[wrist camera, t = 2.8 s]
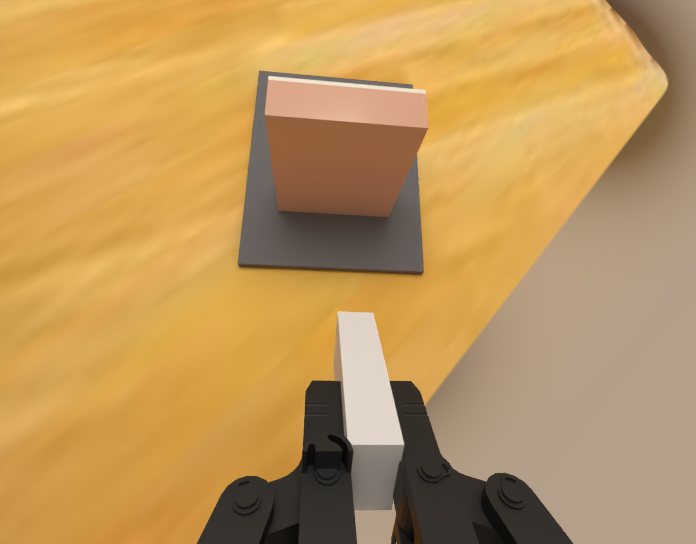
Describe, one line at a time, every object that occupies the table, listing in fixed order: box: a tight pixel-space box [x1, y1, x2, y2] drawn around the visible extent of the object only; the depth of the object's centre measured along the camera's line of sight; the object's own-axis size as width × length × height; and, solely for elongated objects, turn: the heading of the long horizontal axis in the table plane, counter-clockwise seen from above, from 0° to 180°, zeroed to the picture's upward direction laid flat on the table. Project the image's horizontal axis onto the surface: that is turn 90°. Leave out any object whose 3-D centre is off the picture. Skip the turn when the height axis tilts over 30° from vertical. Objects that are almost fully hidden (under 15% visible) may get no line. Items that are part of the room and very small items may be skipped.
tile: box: [265, 76, 428, 217], centre depth 29 cm, size 10×3×12 cm, turn 89°
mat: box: [238, 71, 424, 274], centre depth 36 cm, size 16×21×1 cm
